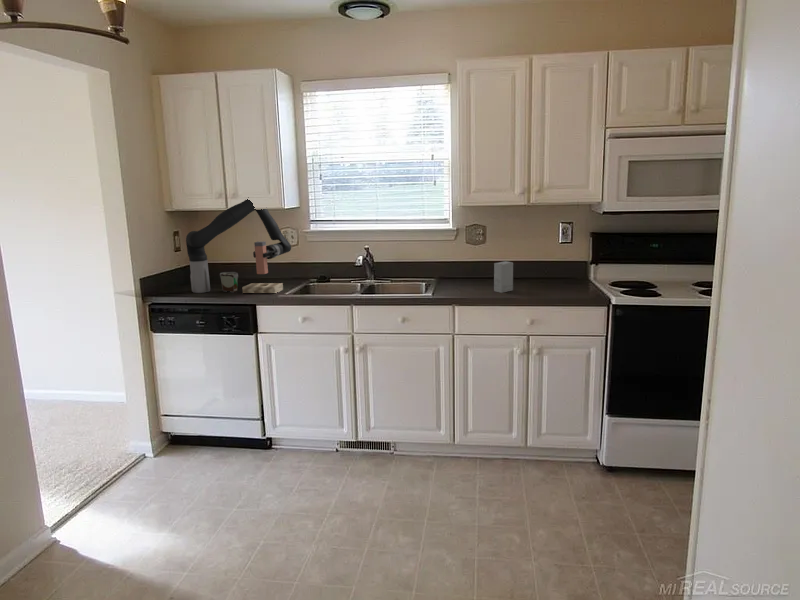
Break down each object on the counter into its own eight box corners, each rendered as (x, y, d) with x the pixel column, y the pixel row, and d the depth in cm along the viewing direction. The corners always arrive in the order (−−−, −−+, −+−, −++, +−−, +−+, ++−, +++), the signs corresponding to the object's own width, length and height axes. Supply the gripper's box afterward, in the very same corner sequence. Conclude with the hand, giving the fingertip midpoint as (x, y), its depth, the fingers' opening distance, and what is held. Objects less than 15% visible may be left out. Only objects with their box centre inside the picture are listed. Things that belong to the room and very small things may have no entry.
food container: (244, 290, 309) (243, 272, 307) (235, 292, 304) (234, 274, 302) (229, 288, 316) (228, 271, 313) (221, 290, 311) (219, 272, 309)
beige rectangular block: (242, 293, 300) (242, 287, 299) (252, 289, 311) (251, 283, 311) (274, 293, 297) (274, 287, 296) (283, 289, 309) (282, 283, 308)
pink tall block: (256, 274, 301) (254, 242, 298) (260, 272, 306) (257, 241, 302) (264, 274, 301) (262, 242, 297) (268, 272, 305) (265, 241, 301)
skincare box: (505, 289, 291) (505, 260, 288) (513, 290, 286) (514, 262, 283) (493, 291, 287) (493, 262, 284) (501, 293, 282) (501, 263, 279)
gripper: (258, 245, 315) (245, 248, 299) (282, 244, 313) (271, 248, 296) (259, 258, 317) (247, 262, 300) (283, 258, 315) (272, 262, 298)
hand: (259, 255), depth 299 cm, fingers closed on pink tall block, 4 cm apart
